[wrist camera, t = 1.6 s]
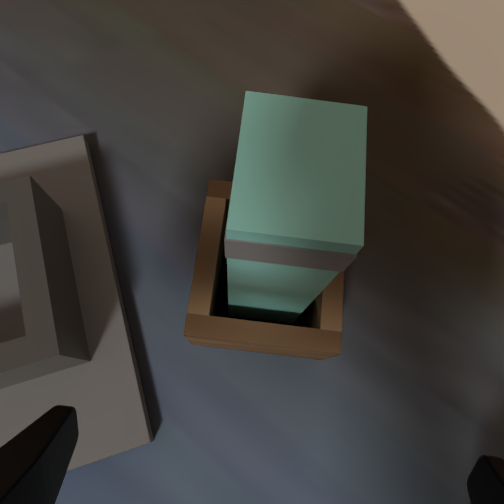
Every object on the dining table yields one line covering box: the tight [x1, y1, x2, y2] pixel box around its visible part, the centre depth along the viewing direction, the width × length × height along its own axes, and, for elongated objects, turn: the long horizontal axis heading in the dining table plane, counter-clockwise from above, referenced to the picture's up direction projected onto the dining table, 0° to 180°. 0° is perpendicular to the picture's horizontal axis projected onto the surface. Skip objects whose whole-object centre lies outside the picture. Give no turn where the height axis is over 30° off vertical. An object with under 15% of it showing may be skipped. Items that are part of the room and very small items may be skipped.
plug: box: [224, 91, 367, 323], centre depth 17 cm, size 4×4×13 cm
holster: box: [183, 179, 344, 360], centre depth 22 cm, size 8×7×4 cm
